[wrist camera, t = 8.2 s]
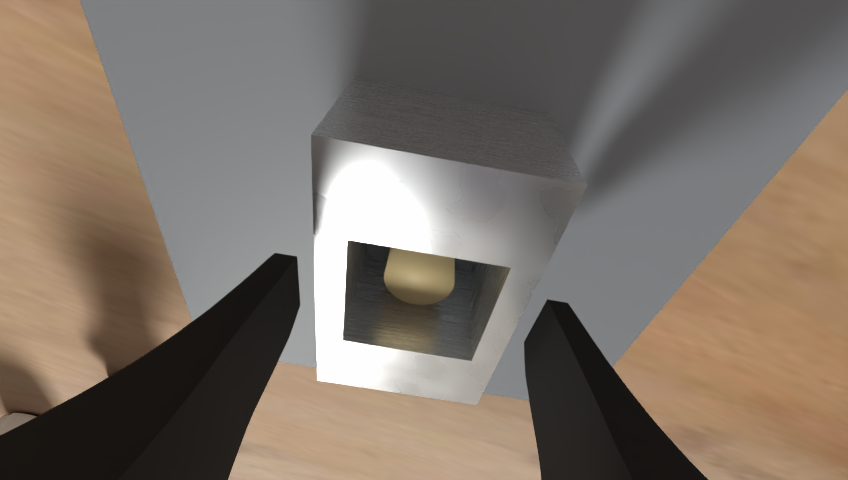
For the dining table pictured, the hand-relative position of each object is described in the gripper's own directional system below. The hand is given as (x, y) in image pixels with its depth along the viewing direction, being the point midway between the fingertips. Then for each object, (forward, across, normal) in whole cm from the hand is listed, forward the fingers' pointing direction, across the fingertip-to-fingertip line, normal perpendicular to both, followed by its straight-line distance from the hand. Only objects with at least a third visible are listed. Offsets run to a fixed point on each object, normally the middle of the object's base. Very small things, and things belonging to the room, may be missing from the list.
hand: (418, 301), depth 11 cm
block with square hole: (+3, 0, 0) cm, 3 cm away
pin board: (+5, 0, 0) cm, 5 cm away
